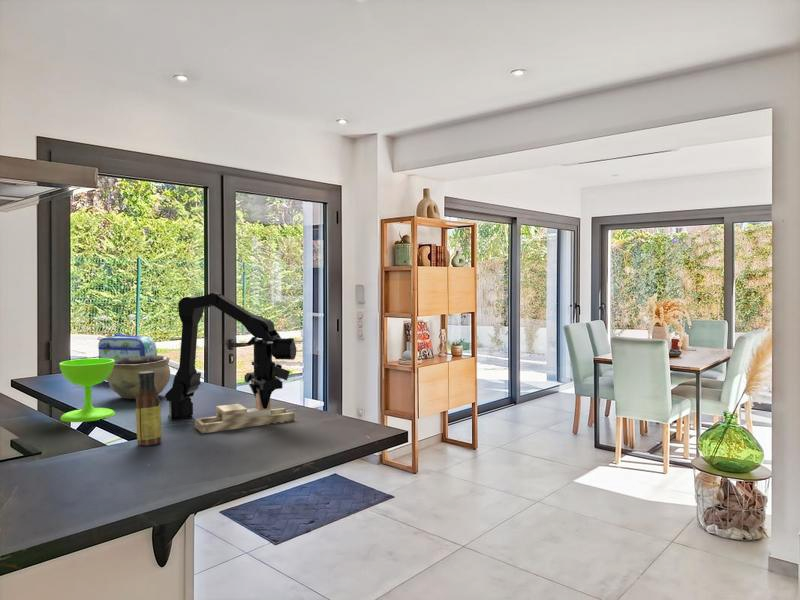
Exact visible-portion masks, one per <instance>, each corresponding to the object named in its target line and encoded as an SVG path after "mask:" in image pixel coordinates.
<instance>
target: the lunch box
mask: <svg viewBox="0 0 800 600" xmlns="http://www.w3.org/2000/svg"><path fill="white" fill-rule="evenodd" d="M97 347H98V349H97V350H98V358H103V359H117V358H123V357H139V356H150V355H158V354H157V353H158V351H157V346H156V342H155V340H154V339H152V337H149V336H143V335H128V334H121V333H116V334H114V335H113V336H108V337H102V338H101V339H99V342H98V346H97ZM105 380H107V381H108V377H107V378H106V379H105Z"/></svg>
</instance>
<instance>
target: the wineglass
mask: <svg viewBox="0 0 800 600" xmlns="http://www.w3.org/2000/svg"><path fill="white" fill-rule="evenodd" d="M114 363H115V360H114V359H103V358H99V357H98V358H80V359H70V360H65V361H61V362H59V363H58V365H59V369H60V373H61V374H62V376H63V377H64V378H65V379H66V380H67V381H68V382H70V383H71V384H73V385H76V386H78V387H79V386H80V387H84V406H83V407H82V408H80V409H75V410H71V411H68V412H65V413H63V414H62V415H61V416H60V421H62V422H64V423H65V422H67V423H87V422H94V421H100V419H102V418H106V417H110V416H112V417H114V416H115V415H116V411H114V410H113V409H112V408H109V407H108V408H107V407H94V406H93V405H92V387H93V386H96V385H99V384H101V383H103V381H104V380H105V379H106V378H107V377H108V376H109V375H110V374H111V372H112V370H113V368H114ZM114 414H115V415H114ZM113 415H114V416H113ZM110 418H111V417H110ZM106 419H107V418H106ZM102 420H103V419H102Z"/></svg>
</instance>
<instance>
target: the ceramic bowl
mask: <svg viewBox="0 0 800 600" xmlns="http://www.w3.org/2000/svg"><path fill="white" fill-rule="evenodd" d="M170 359H171V357H170V356H167V357H166V358H165V356H164V355H159V354H157V355H150V356H139V357H123V358H117V359H114V360H115V363H114V368H113V370H112V372H111V374H110V375H109V376H108V382H107V383H108V386H109V387H110V388H111V389H112V391H113V392H114V393H116V395H117V394H118V395H119V397H121V398H124V399H126V400H127V399H128V400H136V396H137V394H138V392H139V390H140V387H139V386H140V379H139V372H144V371H154V373H155V377H154V385H155V388H156V391H157V394H158V395H160V394H161V393H162V392H163V391H164V389H165V388H166V387H167V385H168V384H169V382H170V379H171V369H170V365H169V363H170Z"/></svg>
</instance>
